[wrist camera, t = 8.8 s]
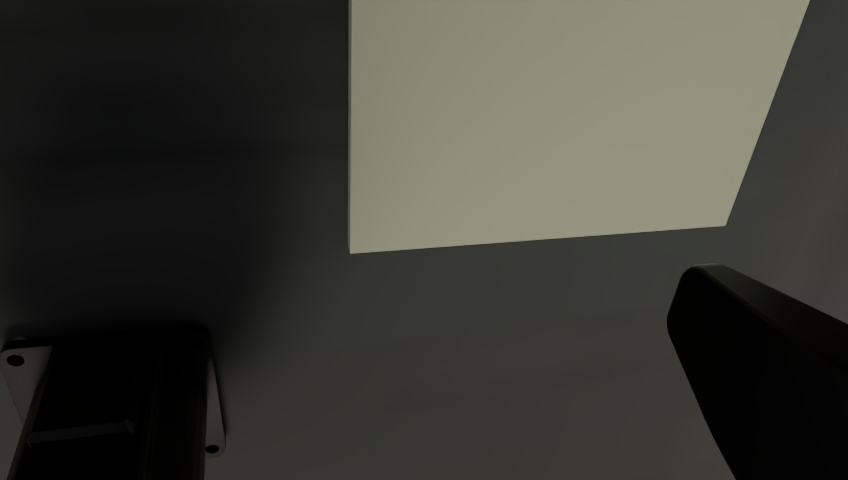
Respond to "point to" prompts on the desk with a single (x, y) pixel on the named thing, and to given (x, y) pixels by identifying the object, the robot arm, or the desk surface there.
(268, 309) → the desk surface
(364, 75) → the mat
